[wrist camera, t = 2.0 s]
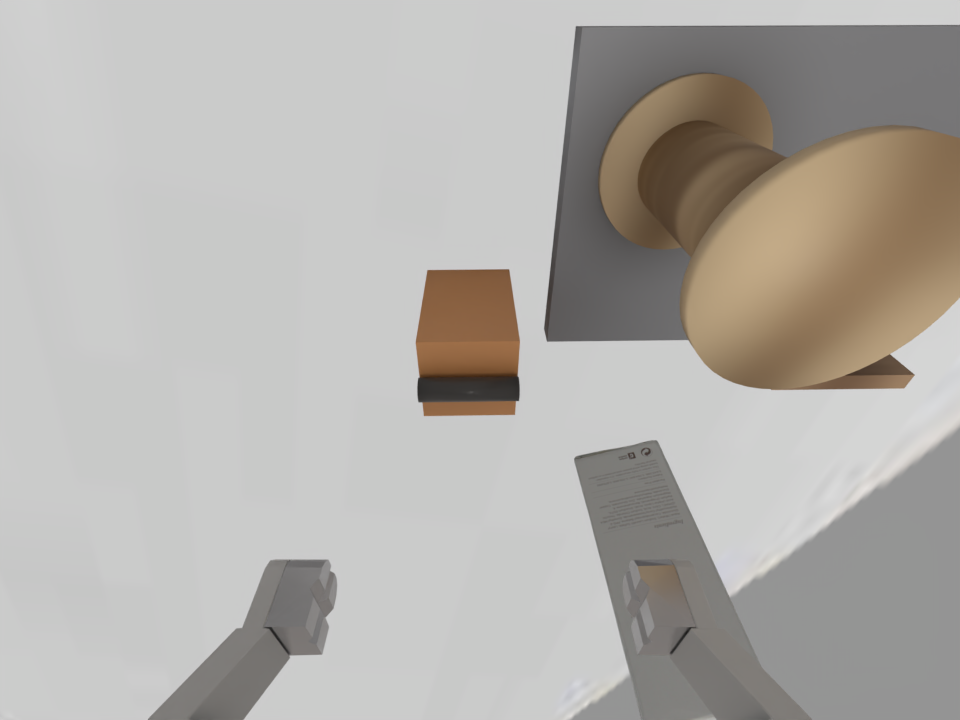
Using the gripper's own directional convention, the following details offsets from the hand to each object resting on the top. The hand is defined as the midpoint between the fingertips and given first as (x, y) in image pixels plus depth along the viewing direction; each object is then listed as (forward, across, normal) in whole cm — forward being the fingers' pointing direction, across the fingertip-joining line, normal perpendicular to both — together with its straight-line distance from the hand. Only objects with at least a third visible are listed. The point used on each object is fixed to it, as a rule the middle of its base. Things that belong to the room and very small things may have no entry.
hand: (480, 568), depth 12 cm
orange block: (+14, -1, 0) cm, 14 cm away
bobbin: (+13, +8, +7) cm, 16 cm away
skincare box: (+14, +10, -15) cm, 23 cm away
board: (+14, +11, +5) cm, 19 cm away
